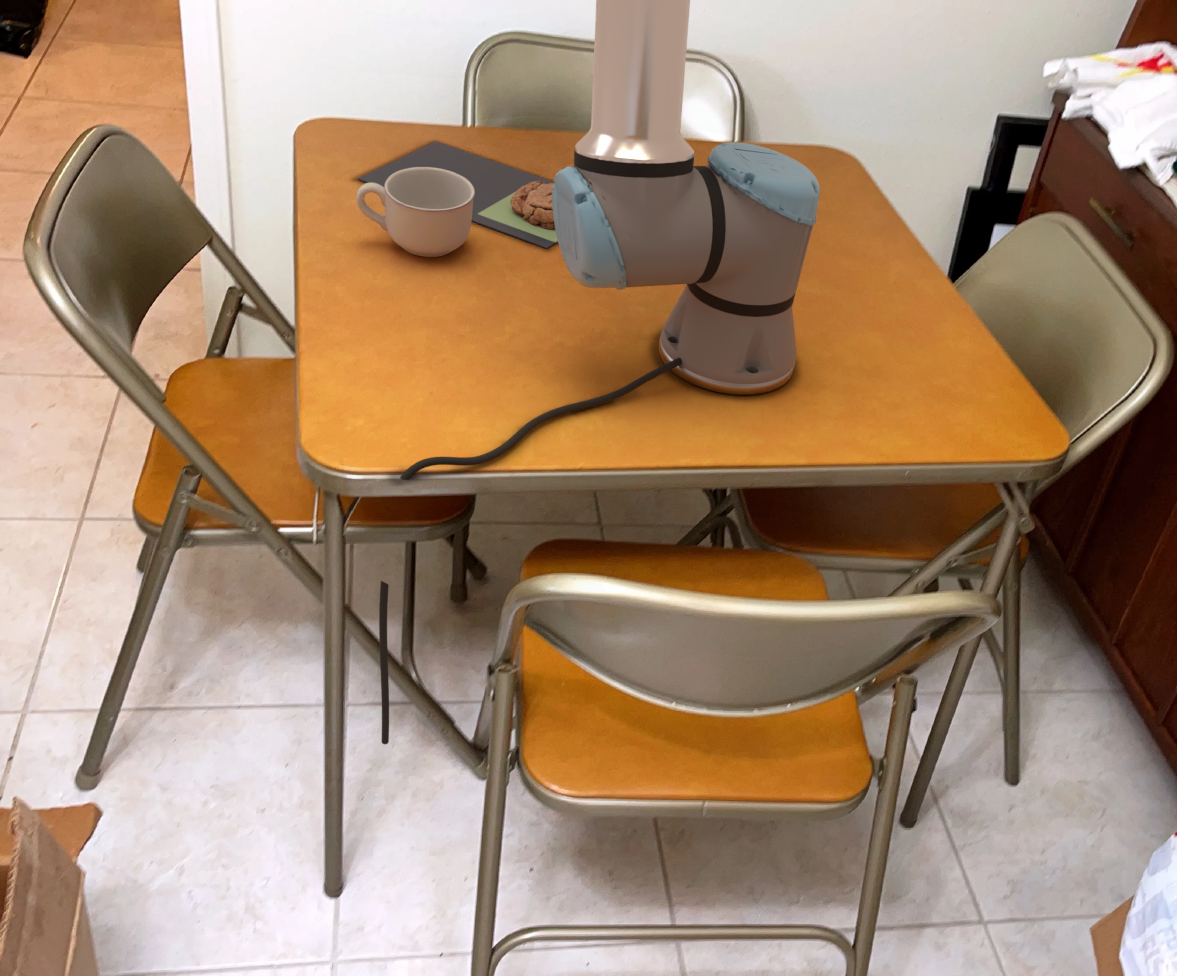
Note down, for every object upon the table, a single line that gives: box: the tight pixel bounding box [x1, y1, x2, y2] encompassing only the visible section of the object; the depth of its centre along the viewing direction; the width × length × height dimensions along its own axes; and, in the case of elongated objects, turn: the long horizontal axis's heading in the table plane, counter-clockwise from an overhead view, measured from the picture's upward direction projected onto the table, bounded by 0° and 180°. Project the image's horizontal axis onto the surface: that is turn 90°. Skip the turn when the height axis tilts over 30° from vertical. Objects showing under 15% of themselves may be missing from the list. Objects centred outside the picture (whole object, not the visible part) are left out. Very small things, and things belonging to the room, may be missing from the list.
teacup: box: [355, 167, 475, 258], centre depth 136 cm, size 14×11×8 cm
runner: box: [357, 140, 558, 250], centre depth 153 cm, size 18×30×1 cm, turn 61°
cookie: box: [510, 181, 555, 229], centre depth 149 cm, size 10×11×3 cm
